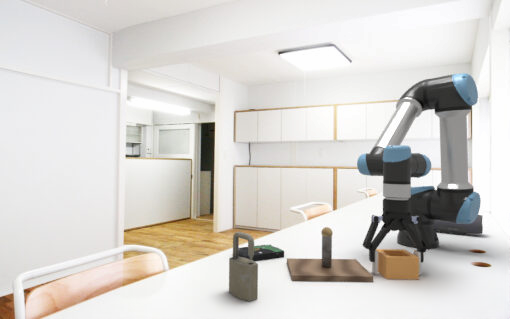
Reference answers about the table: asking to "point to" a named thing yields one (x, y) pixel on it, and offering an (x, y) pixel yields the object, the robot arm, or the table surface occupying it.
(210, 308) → the table surface
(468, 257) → the table surface
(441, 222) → the bluetooth speaker
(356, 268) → the wooden peg board
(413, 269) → the hollow square frame
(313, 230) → the table surface
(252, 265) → the padlock
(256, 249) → the disk drive
